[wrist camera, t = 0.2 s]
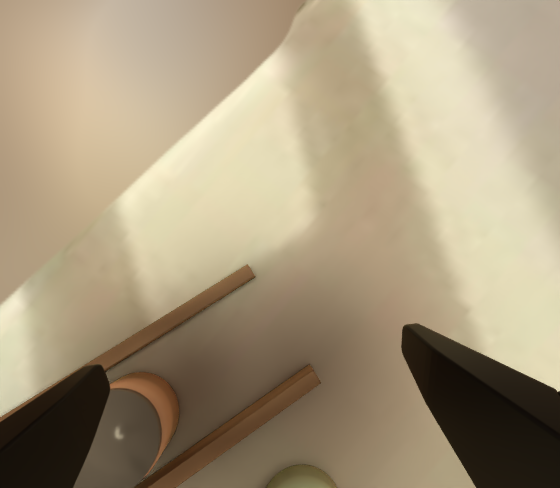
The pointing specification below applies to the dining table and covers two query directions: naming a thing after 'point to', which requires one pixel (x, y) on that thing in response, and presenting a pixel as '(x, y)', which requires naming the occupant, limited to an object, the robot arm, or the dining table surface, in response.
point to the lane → (236, 429)
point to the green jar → (301, 478)
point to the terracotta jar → (130, 432)
